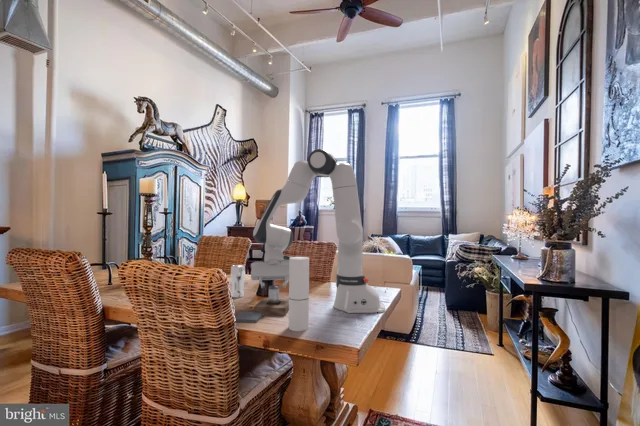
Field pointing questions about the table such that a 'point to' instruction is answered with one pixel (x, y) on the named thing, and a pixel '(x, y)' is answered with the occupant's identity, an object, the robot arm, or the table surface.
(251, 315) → the slate mat
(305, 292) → the cylindrical container
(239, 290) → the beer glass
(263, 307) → the walnut bore block
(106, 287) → the table surface
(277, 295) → the metal plug
